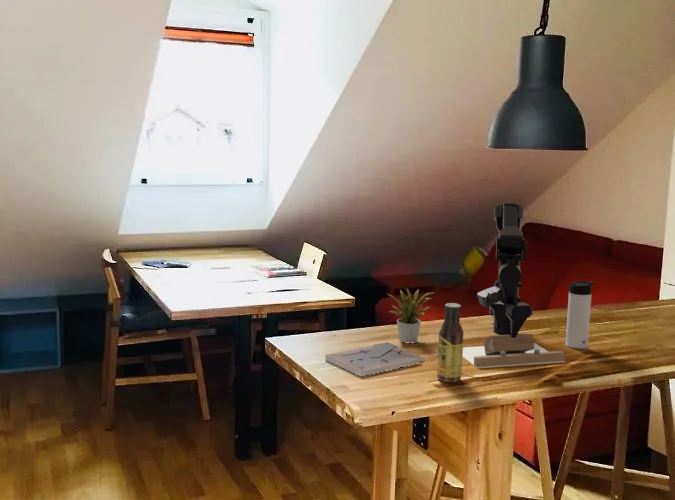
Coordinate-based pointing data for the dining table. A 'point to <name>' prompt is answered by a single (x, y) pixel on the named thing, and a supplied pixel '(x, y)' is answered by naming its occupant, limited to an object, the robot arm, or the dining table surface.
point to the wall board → (511, 357)
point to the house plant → (409, 317)
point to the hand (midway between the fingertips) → (505, 332)
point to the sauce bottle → (450, 345)
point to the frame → (508, 344)
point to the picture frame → (374, 359)
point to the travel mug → (578, 314)
